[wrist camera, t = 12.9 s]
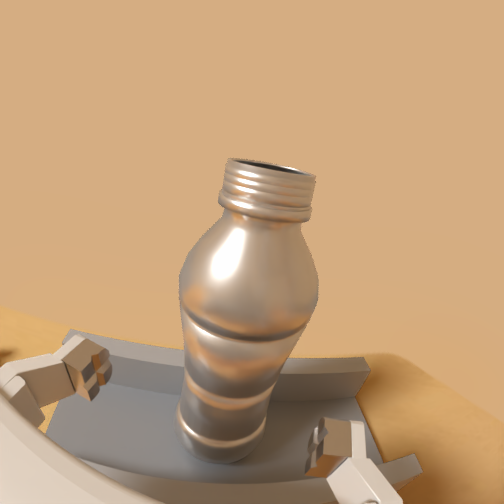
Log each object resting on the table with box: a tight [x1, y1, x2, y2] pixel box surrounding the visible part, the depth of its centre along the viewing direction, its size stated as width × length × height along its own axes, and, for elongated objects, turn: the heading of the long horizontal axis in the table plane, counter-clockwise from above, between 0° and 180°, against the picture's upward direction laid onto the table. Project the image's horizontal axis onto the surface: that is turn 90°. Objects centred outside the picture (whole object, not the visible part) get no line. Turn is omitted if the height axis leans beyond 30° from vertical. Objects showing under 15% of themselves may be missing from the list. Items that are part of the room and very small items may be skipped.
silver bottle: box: [174, 158, 318, 464], centre depth 15 cm, size 6×7×20 cm
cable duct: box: [46, 329, 423, 504], centre depth 17 cm, size 28×14×5 cm, turn 95°
